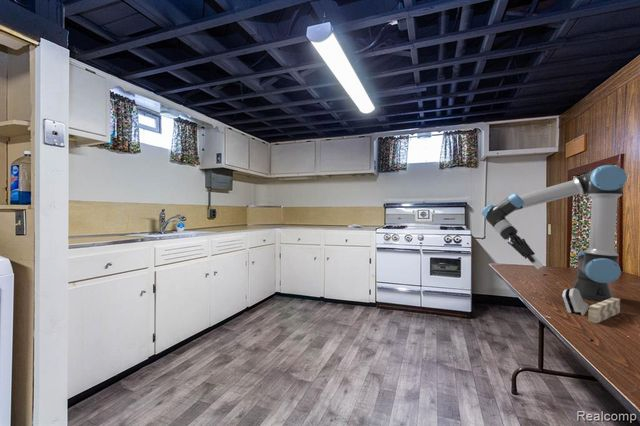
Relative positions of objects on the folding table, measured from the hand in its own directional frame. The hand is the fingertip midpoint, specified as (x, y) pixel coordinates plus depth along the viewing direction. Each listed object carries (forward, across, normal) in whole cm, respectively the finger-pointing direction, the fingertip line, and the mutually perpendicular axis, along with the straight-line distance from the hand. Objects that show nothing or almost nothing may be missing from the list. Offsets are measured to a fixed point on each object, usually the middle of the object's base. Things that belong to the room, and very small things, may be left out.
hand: (540, 267), depth 143 cm
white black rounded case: (+21, -1, -2) cm, 21 cm away
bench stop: (+28, 0, +6) cm, 29 cm away
